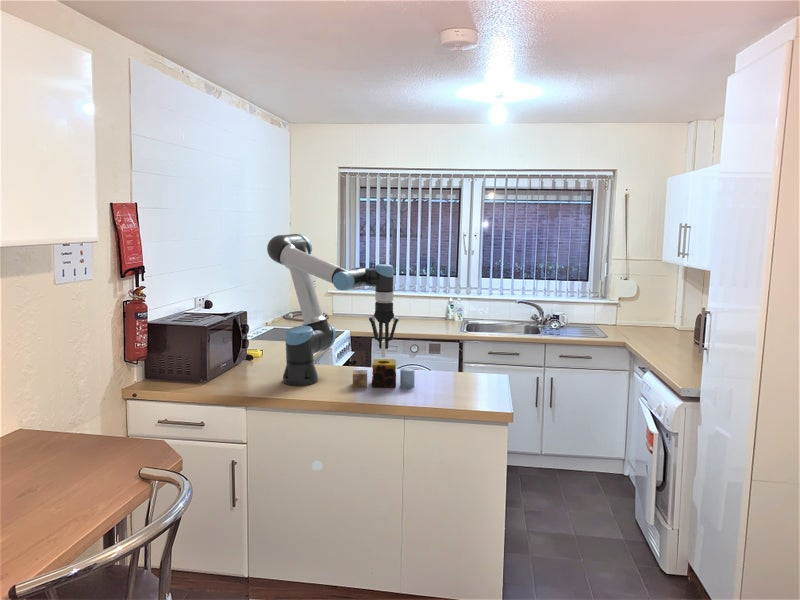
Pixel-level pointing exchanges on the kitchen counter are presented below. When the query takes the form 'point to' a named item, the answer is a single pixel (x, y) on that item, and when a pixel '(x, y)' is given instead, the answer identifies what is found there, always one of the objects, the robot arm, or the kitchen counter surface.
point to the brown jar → (359, 378)
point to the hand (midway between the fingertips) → (383, 356)
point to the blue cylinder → (407, 378)
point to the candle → (384, 373)
